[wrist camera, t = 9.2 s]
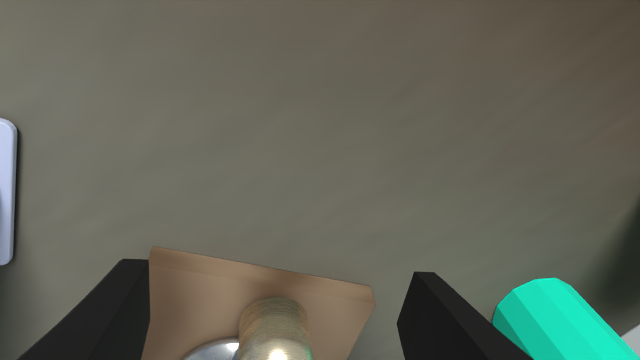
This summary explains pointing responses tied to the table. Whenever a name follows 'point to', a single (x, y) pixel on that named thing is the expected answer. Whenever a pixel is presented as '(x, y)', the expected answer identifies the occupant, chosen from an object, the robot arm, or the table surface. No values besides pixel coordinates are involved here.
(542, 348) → the candle
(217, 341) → the crank dial
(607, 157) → the table surface
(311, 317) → the stand
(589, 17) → the table surface
